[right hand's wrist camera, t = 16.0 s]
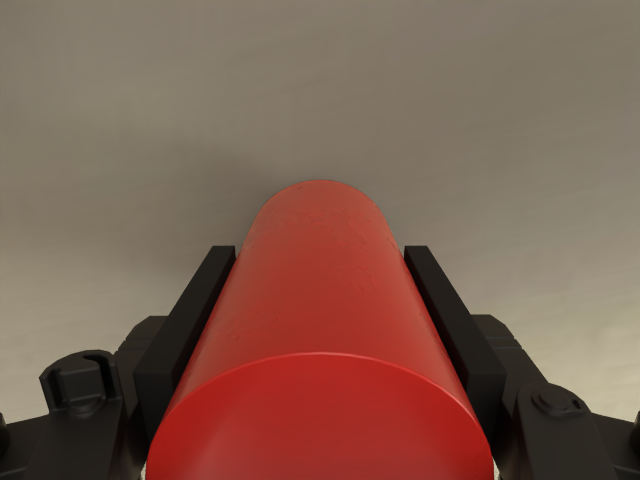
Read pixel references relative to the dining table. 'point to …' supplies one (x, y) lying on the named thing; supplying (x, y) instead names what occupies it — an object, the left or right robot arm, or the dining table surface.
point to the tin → (319, 360)
